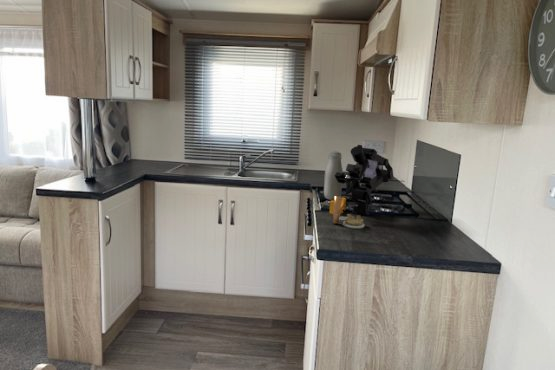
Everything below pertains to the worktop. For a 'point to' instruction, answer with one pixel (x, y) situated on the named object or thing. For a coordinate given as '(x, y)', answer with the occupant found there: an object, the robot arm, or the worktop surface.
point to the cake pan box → (372, 169)
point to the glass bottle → (332, 176)
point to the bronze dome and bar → (349, 219)
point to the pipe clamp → (343, 205)
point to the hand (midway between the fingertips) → (346, 193)
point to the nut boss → (353, 226)
